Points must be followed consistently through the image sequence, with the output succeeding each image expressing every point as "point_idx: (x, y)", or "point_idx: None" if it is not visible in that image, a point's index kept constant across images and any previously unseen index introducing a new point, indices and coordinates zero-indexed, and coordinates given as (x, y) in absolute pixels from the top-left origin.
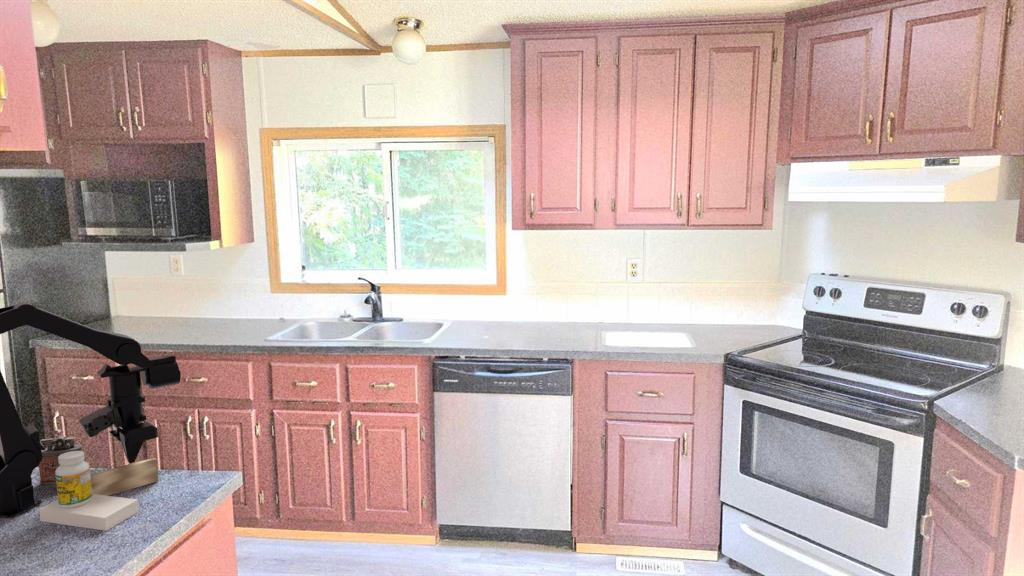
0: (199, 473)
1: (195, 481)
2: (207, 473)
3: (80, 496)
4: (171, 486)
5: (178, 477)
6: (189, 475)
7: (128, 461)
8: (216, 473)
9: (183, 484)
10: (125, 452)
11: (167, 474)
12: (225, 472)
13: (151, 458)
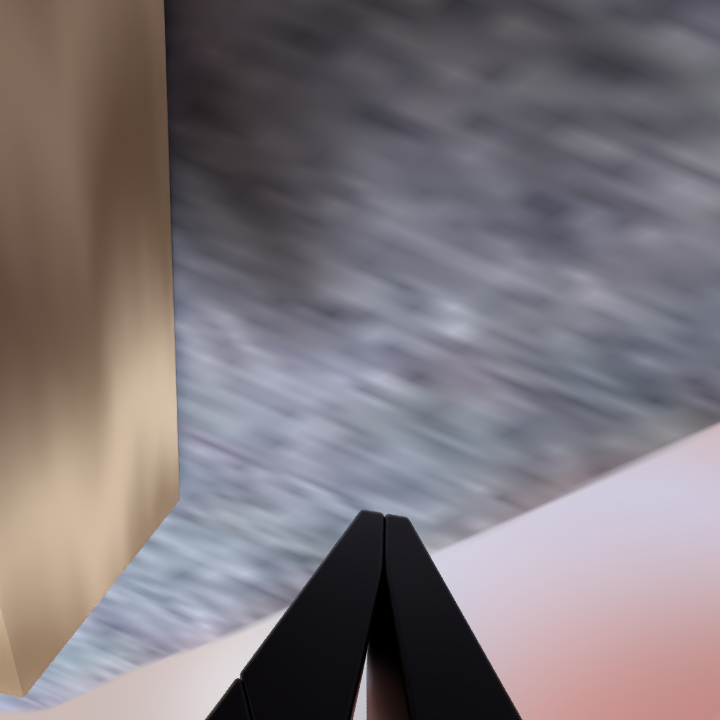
0: (110, 654)
1: None
2: (80, 670)
3: None
4: None
5: (134, 580)
6: (120, 620)
7: (366, 522)
8: (49, 686)
9: None
10: (394, 637)
11: (236, 573)
12: (33, 708)
13: (8, 670)
